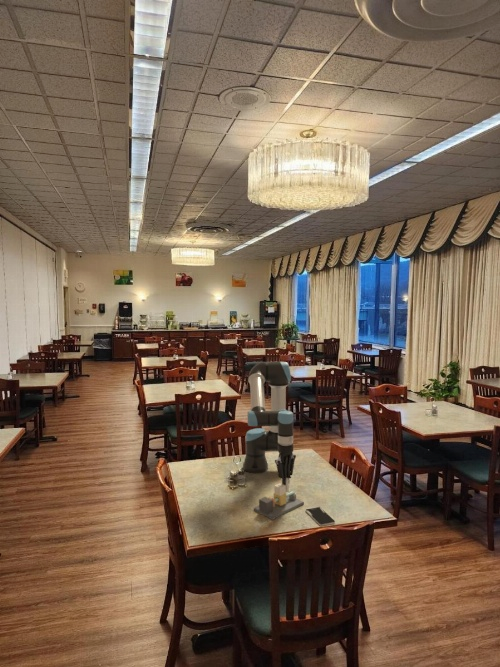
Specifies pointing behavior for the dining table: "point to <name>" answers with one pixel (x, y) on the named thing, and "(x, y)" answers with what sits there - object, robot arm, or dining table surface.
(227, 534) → the dining table surface
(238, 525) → the dining table surface
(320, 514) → the smartphone
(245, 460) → the robot arm
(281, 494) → the sleeve
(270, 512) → the comb base
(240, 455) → the dining table surface
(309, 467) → the dining table surface
